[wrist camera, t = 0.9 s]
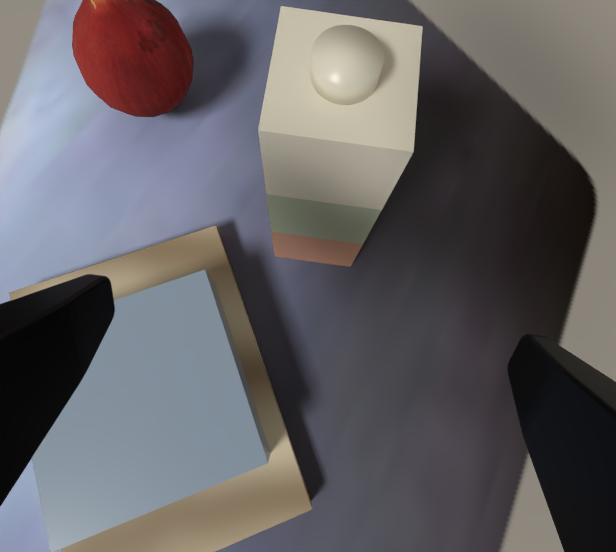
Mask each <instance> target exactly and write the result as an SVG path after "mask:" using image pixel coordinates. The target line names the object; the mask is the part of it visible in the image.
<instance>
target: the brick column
mask: <svg viewBox="0 0 616 552" xmlns="http://www.w3.org/2000/svg"><path fill="white" fill-rule="evenodd" d="M421 40H422V26H416V25H409V24H402V23H395V22H388V21H381V20H374V19H367V18H360V17H353V16H346V15H339V14H332V13H325V12H318V11H311V10H304V9H297V8H290V7H283V6H281V9H280V15H279V20H278V26H277V31H276V37H275V42H274V47H273V53H272V58H271V64H270V69H269V74H268V80H267V85H266V91H265V96H264V101H263V107H262V112H261V118H260V123H259V128H258V133H259V140H260V148H261V156H262V163H263V171H264V179H265V186H266V194H267V201H268V209H269V217H270V224H271V232H272V240H273V247H274V255H275V257H282V258H289V259H296V260H304V261H311V262H318V263H325V264H333V265H340V266H347V267H351V265H352V263H353V262H354V260H355V258H356V256H357V254H358V253H359V251H360V249H361V247H362V245H363V243H364V242H365V240H366V238H367V236H368V234H369V233H370V231H371V229H372V227H373V225H374V223H375V222H376V220H377V218H378V216H379V214H380V212H381V211H382V209H383V207H384V205H385V203H386V202H387V200H388V198H389V196H390V194H391V192H392V191H393V189H394V187H395V185H396V183H397V181H398V180H399V178H400V176H401V174H402V172H403V171H404V169H405V167H406V165H407V163H408V161H409V160H410V158H411V156H412V154H413V152H414V140H415V126H416V111H417V97H418V83H419V69H420V54H421Z"/></svg>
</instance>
